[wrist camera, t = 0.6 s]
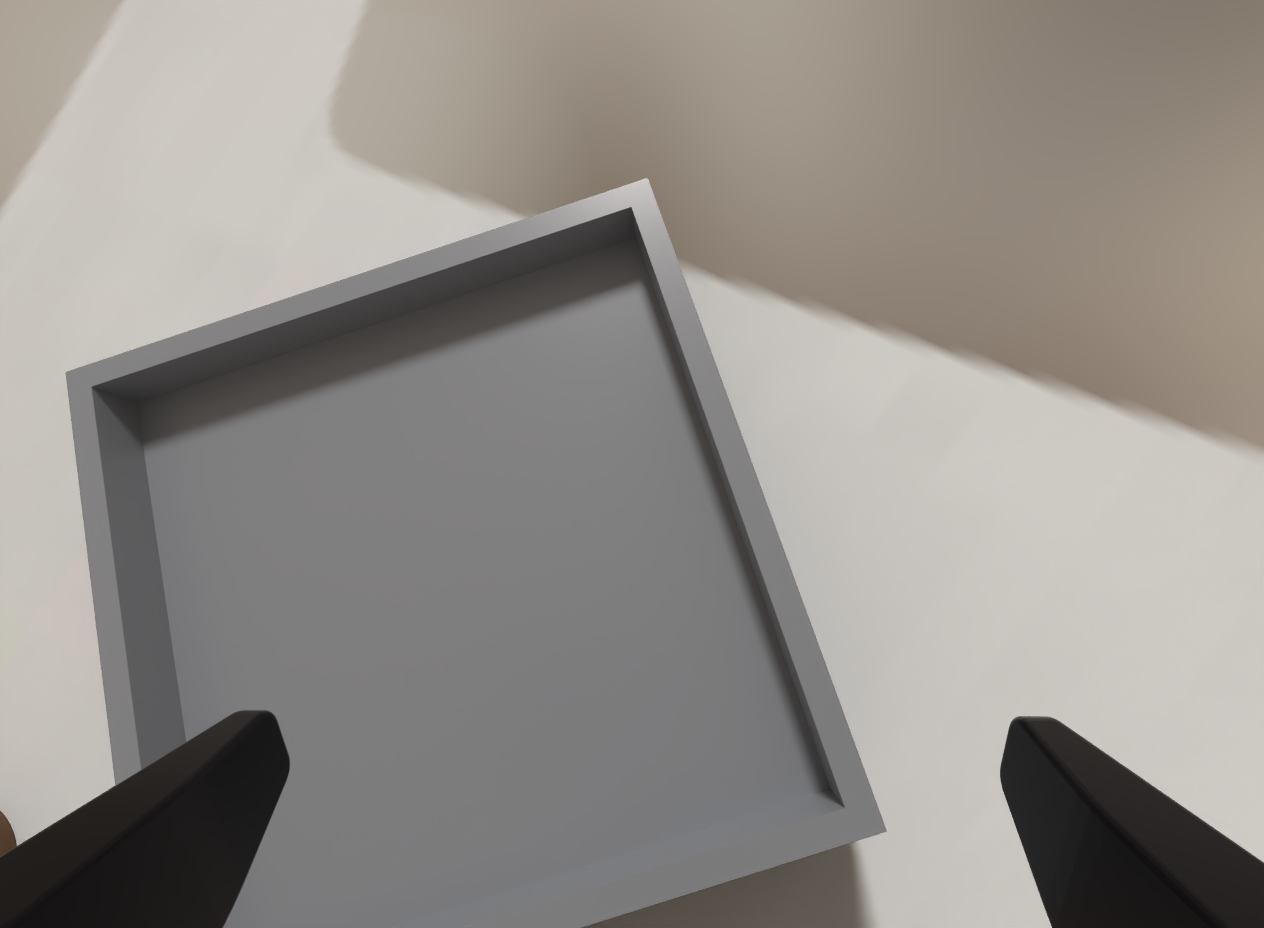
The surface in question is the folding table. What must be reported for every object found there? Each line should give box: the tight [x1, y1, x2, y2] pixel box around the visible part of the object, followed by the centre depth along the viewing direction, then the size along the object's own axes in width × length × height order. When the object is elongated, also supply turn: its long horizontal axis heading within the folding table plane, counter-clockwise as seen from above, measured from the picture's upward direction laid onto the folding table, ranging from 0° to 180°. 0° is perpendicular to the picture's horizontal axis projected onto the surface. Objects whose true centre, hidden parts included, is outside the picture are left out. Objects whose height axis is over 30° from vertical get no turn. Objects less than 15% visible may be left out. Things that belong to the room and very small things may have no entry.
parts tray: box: [66, 178, 887, 928], centre depth 21 cm, size 20×20×4 cm
